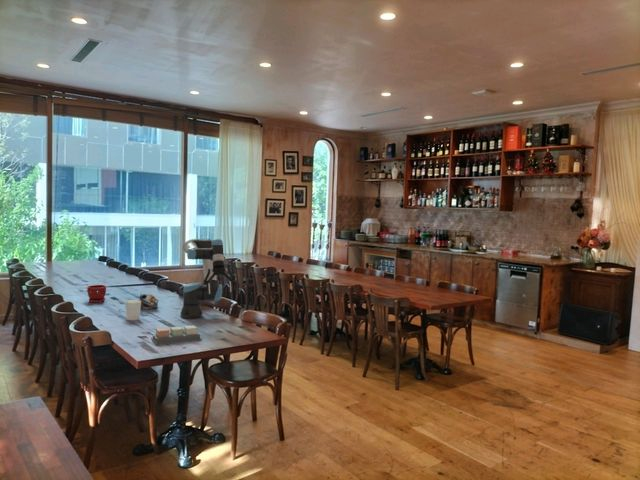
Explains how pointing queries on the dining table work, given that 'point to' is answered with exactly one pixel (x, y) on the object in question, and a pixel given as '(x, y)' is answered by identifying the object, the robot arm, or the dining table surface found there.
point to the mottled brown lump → (148, 301)
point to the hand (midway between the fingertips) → (220, 292)
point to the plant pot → (96, 293)
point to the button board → (175, 339)
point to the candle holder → (133, 309)
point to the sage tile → (176, 331)
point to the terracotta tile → (162, 332)
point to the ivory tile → (190, 330)
